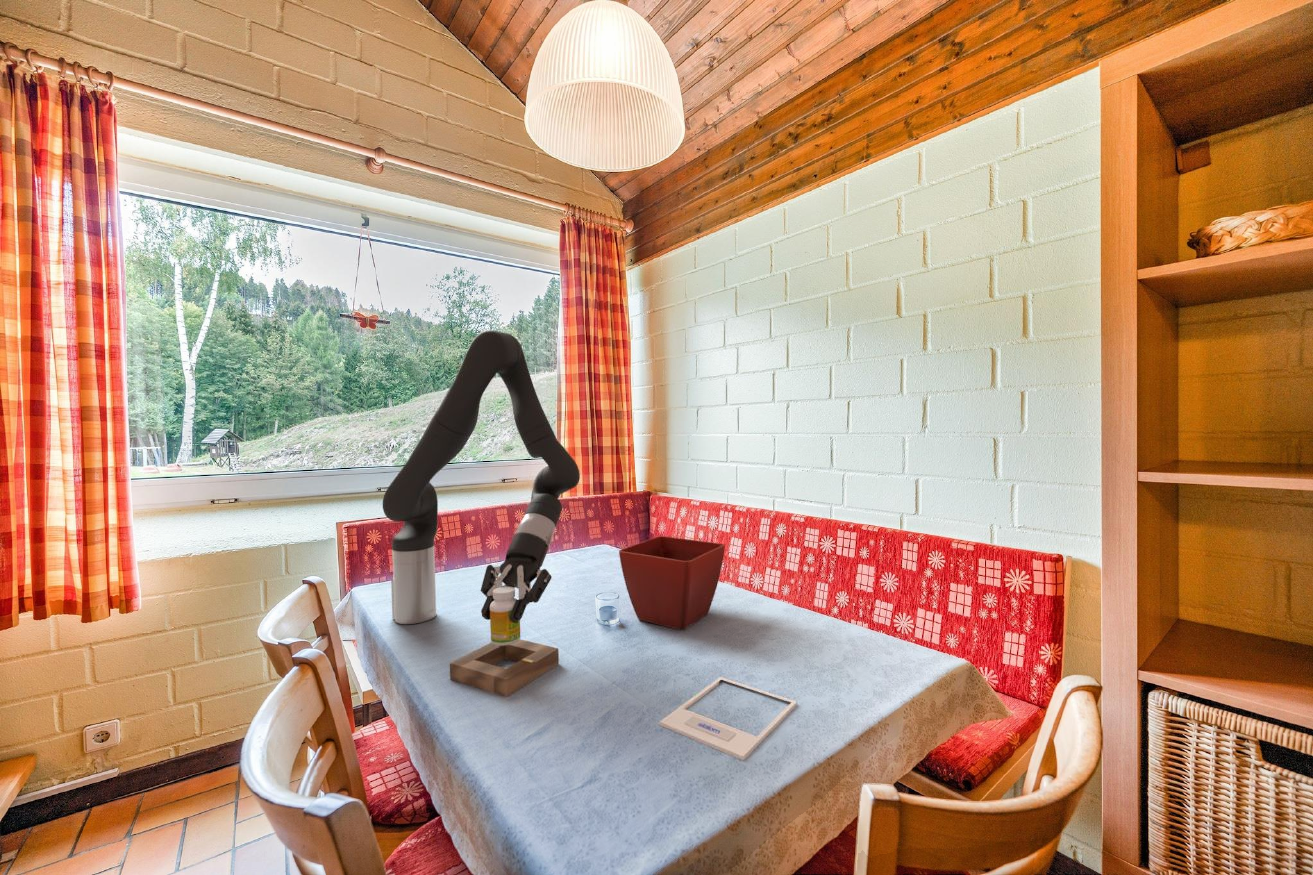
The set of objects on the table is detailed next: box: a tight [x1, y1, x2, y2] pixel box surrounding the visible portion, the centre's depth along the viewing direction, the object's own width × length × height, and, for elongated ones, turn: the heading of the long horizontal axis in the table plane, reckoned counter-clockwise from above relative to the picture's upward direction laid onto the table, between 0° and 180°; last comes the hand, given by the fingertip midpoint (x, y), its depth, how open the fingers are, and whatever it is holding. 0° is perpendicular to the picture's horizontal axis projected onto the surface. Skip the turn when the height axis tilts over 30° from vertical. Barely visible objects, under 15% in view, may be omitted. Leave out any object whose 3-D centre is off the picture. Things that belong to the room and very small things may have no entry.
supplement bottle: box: [489, 587, 521, 646], centre depth 102 cm, size 5×5×10 cm
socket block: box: [449, 638, 560, 697], centre depth 102 cm, size 14×14×3 cm
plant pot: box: [618, 535, 726, 631], centre depth 129 cm, size 19×19×17 cm
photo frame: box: [659, 676, 798, 761], centre depth 86 cm, size 15×1×18 cm
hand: (499, 619), depth 100 cm, fingers closed on supplement bottle, 5 cm apart
